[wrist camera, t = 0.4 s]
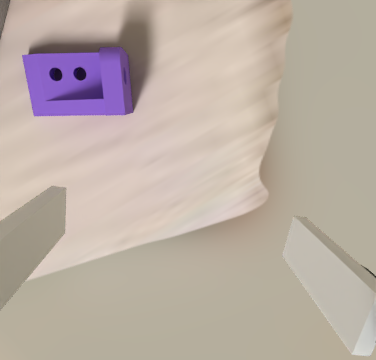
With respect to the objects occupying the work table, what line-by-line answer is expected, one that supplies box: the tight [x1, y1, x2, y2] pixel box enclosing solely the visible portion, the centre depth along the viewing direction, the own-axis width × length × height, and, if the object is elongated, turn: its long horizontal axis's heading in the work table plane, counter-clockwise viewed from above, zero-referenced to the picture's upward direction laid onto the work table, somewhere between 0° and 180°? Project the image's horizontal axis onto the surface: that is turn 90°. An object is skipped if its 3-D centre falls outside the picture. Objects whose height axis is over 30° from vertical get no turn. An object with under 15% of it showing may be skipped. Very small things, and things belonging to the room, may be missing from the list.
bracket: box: [22, 47, 133, 116], centre depth 30 cm, size 12×7×7 cm, turn 92°
